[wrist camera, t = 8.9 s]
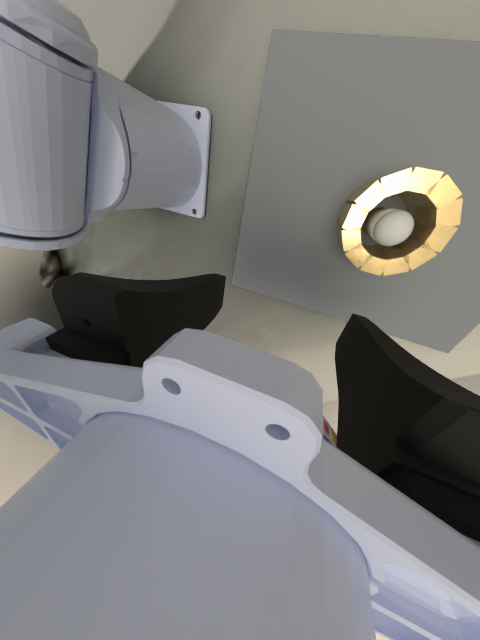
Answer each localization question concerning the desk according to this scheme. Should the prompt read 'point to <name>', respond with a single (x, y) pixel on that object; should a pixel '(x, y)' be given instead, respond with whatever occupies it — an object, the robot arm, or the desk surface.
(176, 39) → the desk surface
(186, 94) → the desk surface
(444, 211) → the wooden link ring
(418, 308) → the grey square plate
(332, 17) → the desk surface
